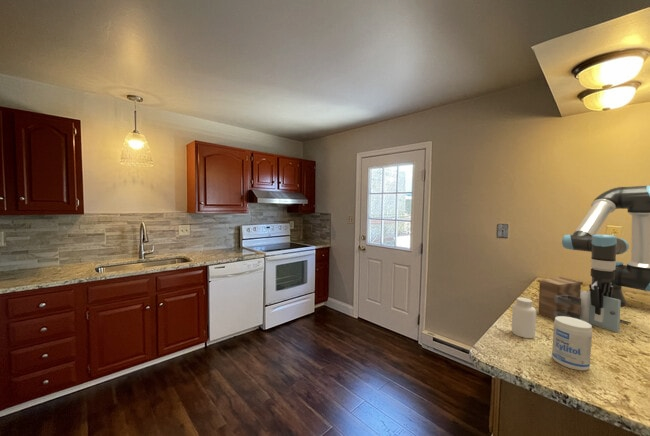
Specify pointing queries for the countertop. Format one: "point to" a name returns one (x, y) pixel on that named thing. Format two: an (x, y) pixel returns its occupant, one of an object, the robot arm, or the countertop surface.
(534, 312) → the pill bottle
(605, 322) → the door
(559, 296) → the cabinet
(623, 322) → the pliers
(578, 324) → the supplement tub
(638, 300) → the countertop surface
